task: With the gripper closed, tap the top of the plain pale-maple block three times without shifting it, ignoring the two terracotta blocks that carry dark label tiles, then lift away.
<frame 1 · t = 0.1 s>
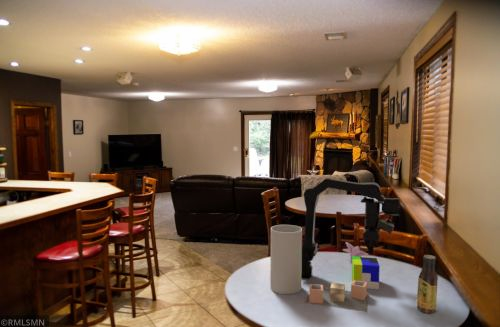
hand: (371, 250, 157), 15 cm above the table, fingers open, 9 cm apart
labelled block right: (358, 296, 146), resting on mat
labelled block left: (316, 300, 143), resting on mat
sauce bottle: (426, 310, 136), on the table
cylinder vase: (285, 289, 154), on the table
puzzle toy: (364, 284, 159), on the table
mat: (337, 299, 145), on the table
plain block: (337, 298, 144), resting on mat
lily: (354, 262, 187), on the table
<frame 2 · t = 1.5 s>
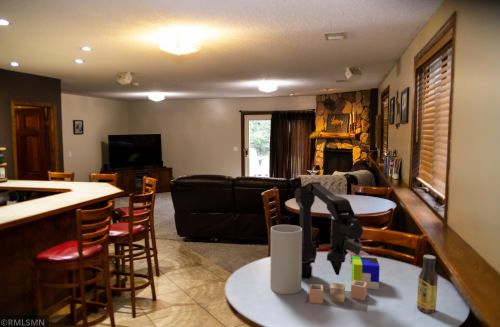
hand: (338, 272, 143), 11 cm above the table, fingers open, 4 cm apart
nothing on the table moved.
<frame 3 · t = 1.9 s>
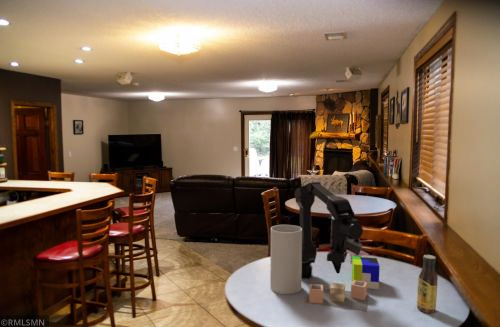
hand: (338, 272, 143), 10 cm above the table, fingers closed
nothing on the table moved.
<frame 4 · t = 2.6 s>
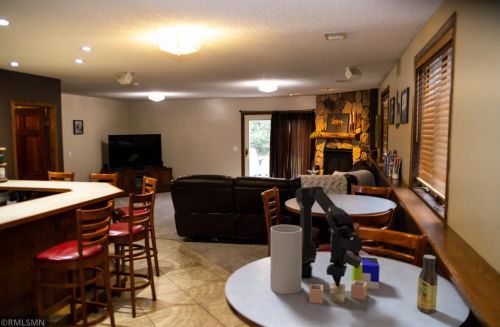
hand: (337, 285, 144), 5 cm above the table, fingers closed, pressing on plain block
plain block: (337, 298, 144), resting on mat, touching gripper
everything else where it was.
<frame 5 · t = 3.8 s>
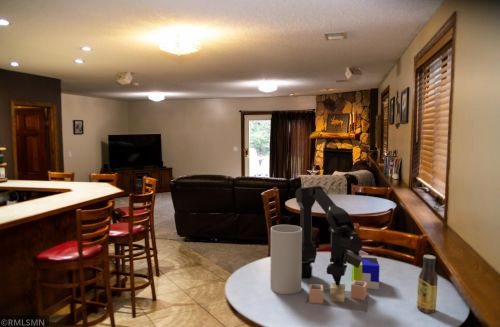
hand: (337, 285, 144), 6 cm above the table, fingers closed
plain block: (337, 298, 144), resting on mat
everything else where it was.
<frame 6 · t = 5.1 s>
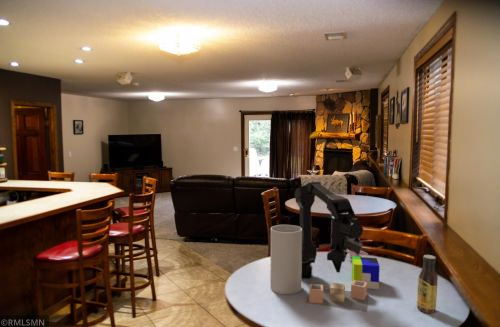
hand: (338, 272, 143), 11 cm above the table, fingers closed
nothing on the table moved.
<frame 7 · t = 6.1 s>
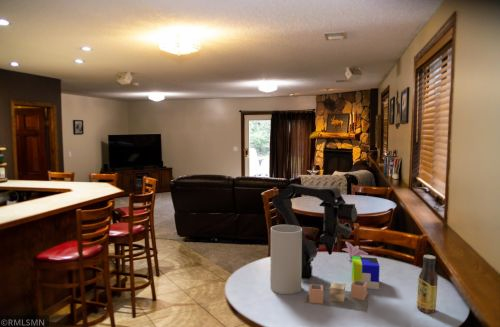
hand: (330, 254, 159), 12 cm above the table, fingers closed
nothing on the table moved.
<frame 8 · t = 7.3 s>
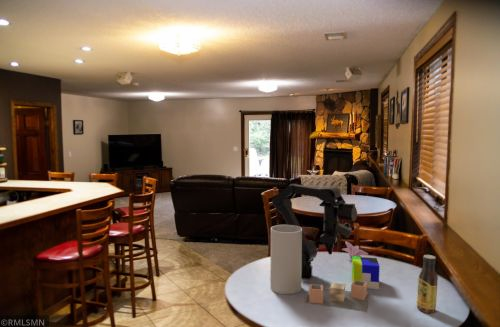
hand: (330, 254, 159), 13 cm above the table, fingers closed
at the end: plain block moved 0.0 cm from its start; plain block tilted 0°; labelled block right moved 0.0 cm from its start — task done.
